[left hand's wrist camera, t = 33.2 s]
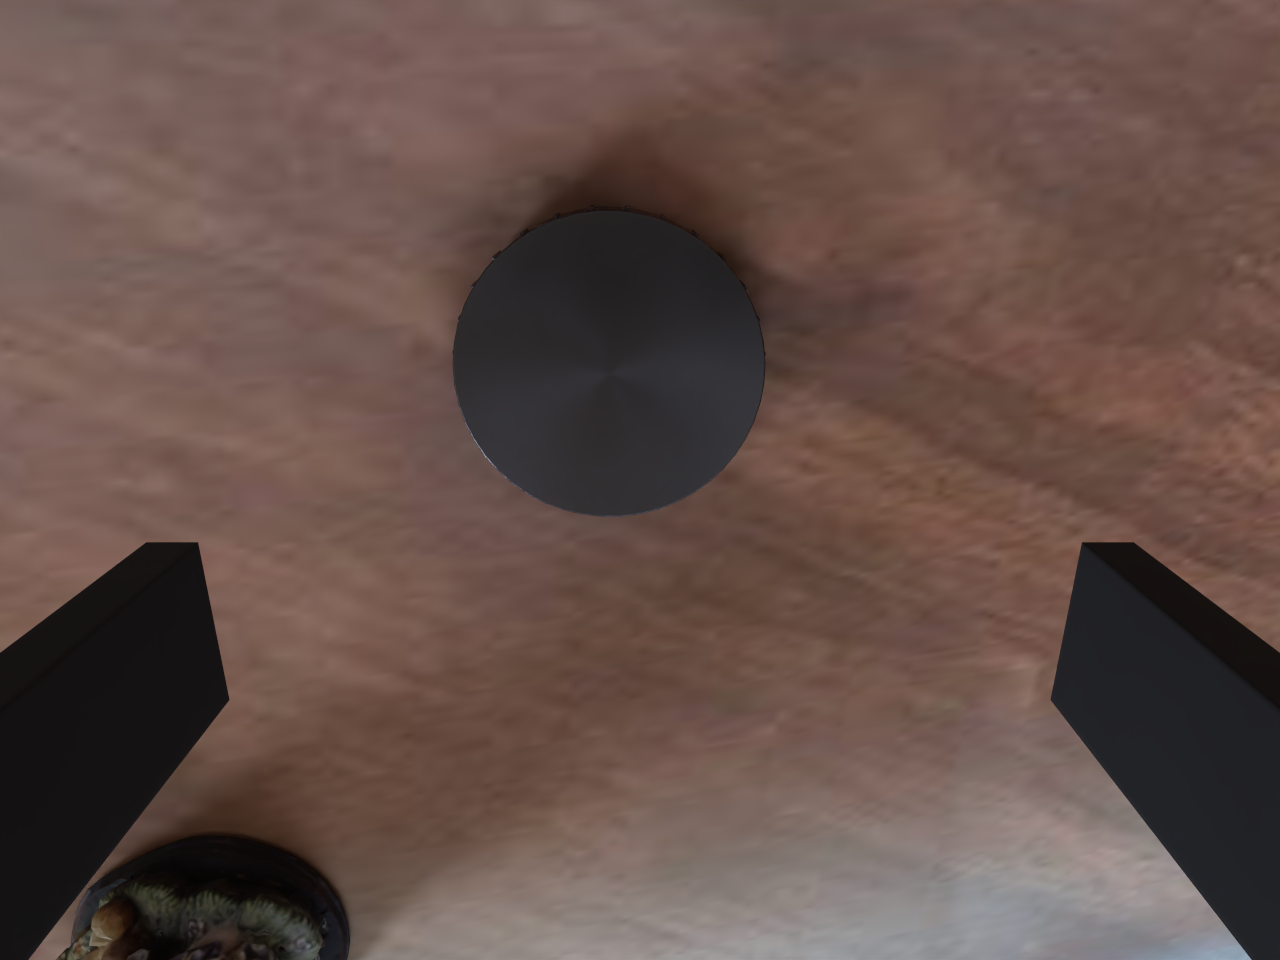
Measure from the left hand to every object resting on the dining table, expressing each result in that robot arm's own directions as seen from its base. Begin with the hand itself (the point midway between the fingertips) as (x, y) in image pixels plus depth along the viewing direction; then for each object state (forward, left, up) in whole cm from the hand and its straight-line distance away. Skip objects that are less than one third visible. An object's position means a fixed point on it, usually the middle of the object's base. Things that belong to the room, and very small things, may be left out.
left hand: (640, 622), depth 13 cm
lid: (+1, 0, -15) cm, 15 cm away
